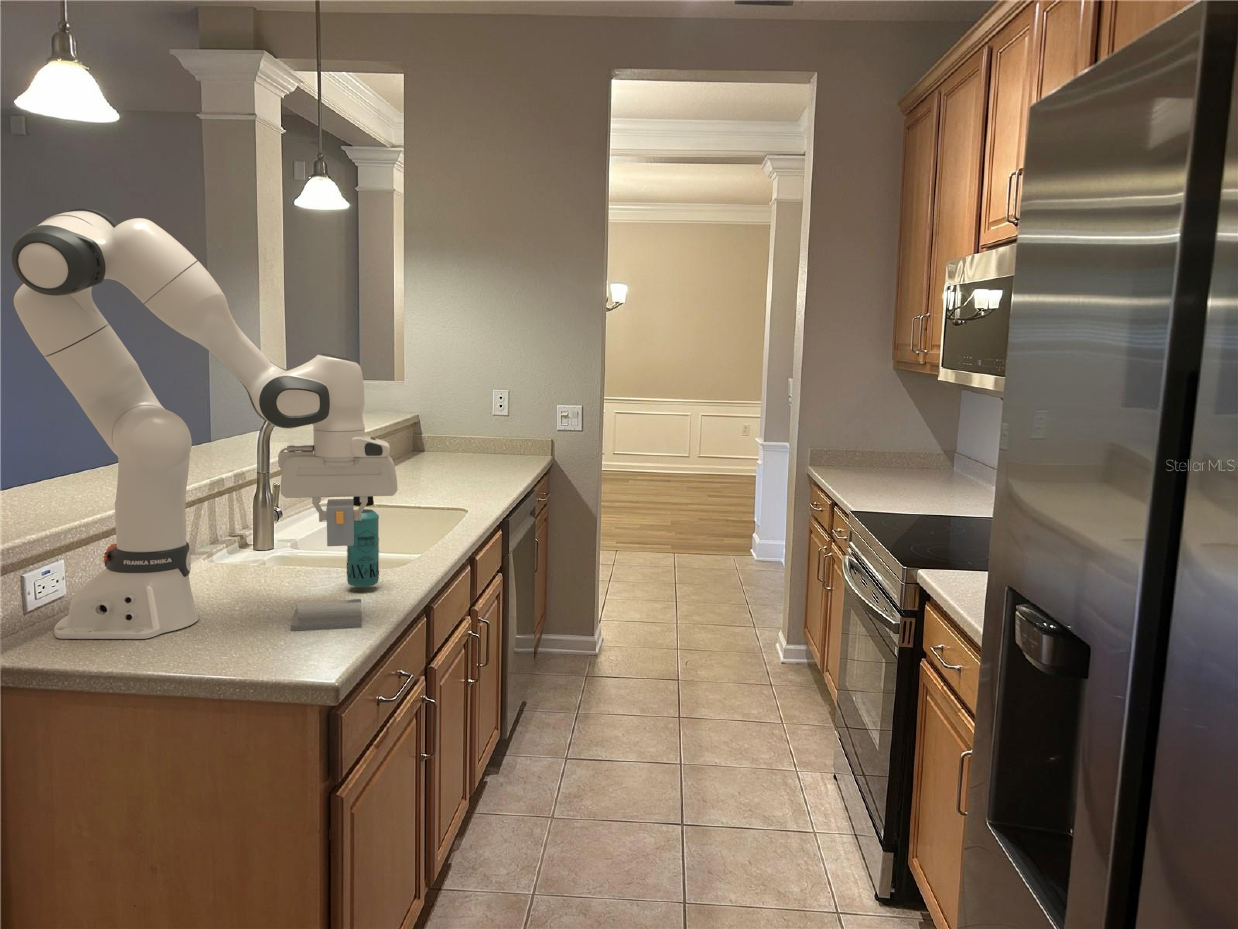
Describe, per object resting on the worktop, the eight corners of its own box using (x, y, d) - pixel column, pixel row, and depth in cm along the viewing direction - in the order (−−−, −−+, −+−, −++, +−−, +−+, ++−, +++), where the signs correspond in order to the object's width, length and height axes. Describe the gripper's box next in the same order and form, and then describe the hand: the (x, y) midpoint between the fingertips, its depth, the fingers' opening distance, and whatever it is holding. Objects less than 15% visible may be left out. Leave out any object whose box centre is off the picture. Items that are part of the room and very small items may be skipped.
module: (327, 547, 161) (326, 508, 160) (328, 536, 170) (328, 499, 169) (353, 546, 163) (352, 507, 161) (353, 535, 171) (353, 498, 170)
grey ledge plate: (290, 631, 161) (290, 611, 161) (294, 614, 171) (294, 596, 170) (361, 627, 165) (361, 608, 164) (361, 611, 174) (361, 593, 174)
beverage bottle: (340, 589, 189) (339, 493, 186) (370, 583, 193) (369, 490, 190) (356, 596, 184) (355, 498, 181) (386, 590, 189) (385, 494, 186)
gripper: (276, 447, 158) (278, 526, 160) (397, 447, 164) (398, 522, 166) (279, 443, 164) (281, 518, 166) (396, 442, 170) (396, 515, 172)
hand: (340, 520), depth 166 cm, fingers closed on module, 4 cm apart
